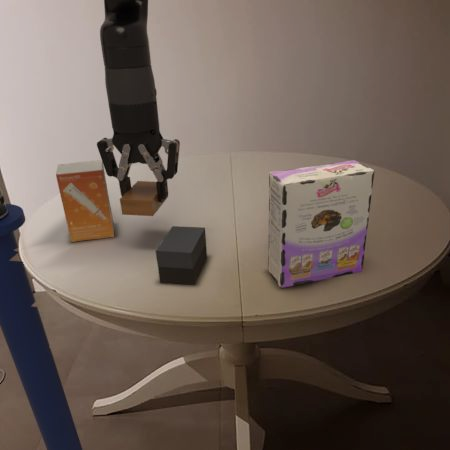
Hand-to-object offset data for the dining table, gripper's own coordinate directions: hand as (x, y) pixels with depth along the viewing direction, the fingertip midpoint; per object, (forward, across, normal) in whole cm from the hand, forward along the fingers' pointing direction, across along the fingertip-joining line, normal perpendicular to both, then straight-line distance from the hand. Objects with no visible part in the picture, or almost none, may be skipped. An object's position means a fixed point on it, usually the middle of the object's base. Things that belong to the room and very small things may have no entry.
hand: (145, 199), depth 82 cm
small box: (+8, -12, +1) cm, 15 cm away
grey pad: (+5, +9, -10) cm, 15 cm away
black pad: (+8, +9, -10) cm, 16 cm away
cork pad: (+1, 0, 0) cm, 1 cm away
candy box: (+7, +30, -9) cm, 32 cm away
